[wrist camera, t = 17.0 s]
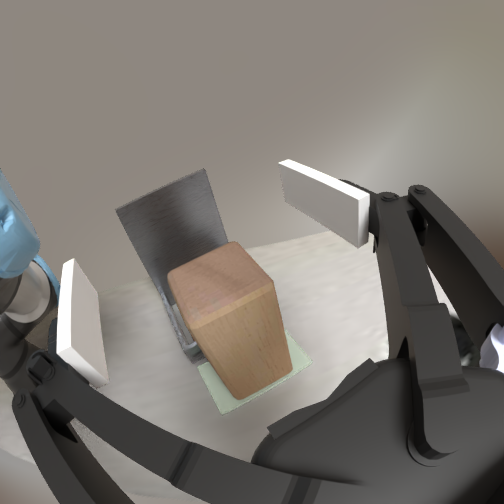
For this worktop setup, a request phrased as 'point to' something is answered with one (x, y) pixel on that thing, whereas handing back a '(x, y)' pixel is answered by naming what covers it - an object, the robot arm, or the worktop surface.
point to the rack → (174, 235)
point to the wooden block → (233, 318)
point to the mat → (230, 403)
